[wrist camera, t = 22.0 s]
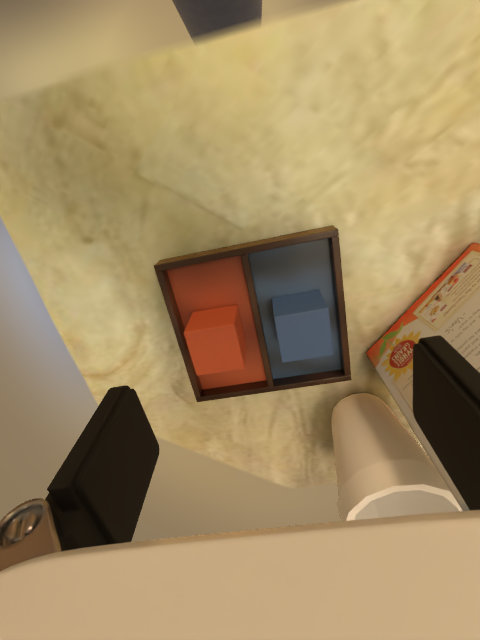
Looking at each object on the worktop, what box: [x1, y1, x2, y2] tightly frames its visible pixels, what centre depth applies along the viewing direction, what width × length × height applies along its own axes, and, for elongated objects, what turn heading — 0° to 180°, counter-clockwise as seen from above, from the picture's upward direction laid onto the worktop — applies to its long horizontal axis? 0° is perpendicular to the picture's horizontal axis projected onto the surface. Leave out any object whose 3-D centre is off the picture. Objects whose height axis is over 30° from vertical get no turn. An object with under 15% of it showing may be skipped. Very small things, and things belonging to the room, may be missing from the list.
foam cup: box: [331, 393, 463, 521], centre depth 32 cm, size 10×9×13 cm
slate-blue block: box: [272, 290, 333, 363], centre depth 31 cm, size 4×4×4 cm
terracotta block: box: [184, 305, 246, 376], centre depth 32 cm, size 4×4×4 cm
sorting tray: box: [154, 226, 351, 402], centre depth 33 cm, size 15×16×2 cm
